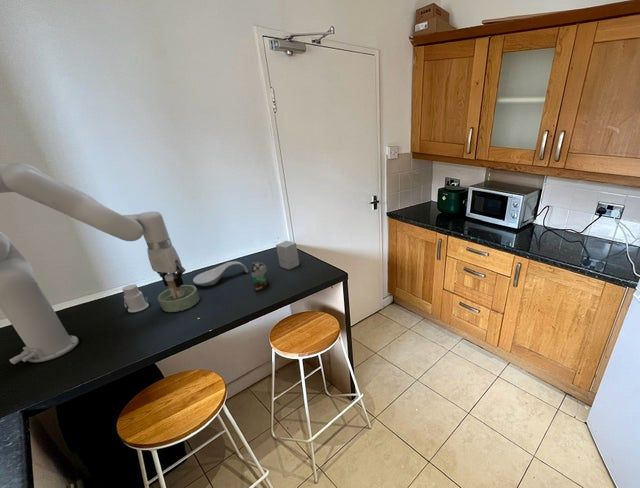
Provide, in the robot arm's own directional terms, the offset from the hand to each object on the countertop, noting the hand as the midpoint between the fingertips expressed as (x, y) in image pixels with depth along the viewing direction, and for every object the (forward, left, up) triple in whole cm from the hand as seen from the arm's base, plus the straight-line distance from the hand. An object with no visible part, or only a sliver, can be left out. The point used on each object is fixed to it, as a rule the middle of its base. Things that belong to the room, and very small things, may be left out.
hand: (174, 284), depth 129 cm
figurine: (+21, -25, -10) cm, 34 cm away
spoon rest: (+23, -2, -10) cm, 25 cm away
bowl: (0, 0, -9) cm, 9 cm away
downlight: (-6, +15, -10) cm, 19 cm away
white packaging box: (+43, -27, -10) cm, 52 cm away
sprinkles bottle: (0, 0, -9) cm, 9 cm away
